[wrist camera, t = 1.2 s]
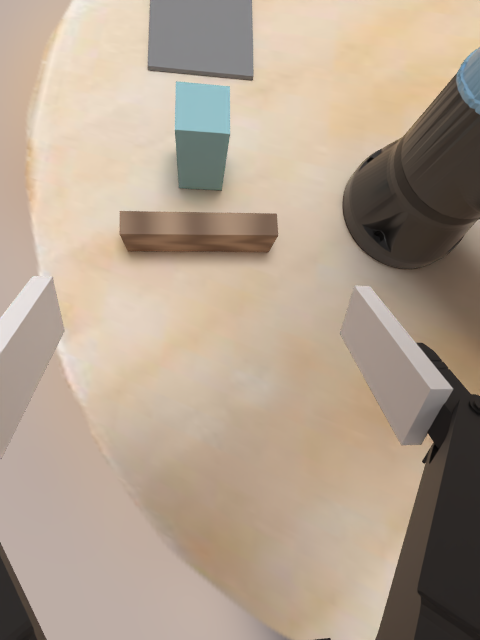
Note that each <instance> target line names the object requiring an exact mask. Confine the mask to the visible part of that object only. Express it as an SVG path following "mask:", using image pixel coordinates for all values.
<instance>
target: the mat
mask: <svg viewBox="0 0 480 640" xmlns="http://www.w3.org/2000/svg"><path fill="white" fill-rule="evenodd" d="M148 70H153V71H164V72H174V73H184V74H194V75H205V76H215V77H225V78H235V79H246V80H253V30H252V0H150V22H149V47H148Z"/></svg>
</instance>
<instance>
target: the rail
mask: <svg viewBox="0 0 480 640" xmlns="http://www.w3.org/2000/svg"><path fill="white" fill-rule="evenodd" d="M120 236H121V238H122V240H123V242H124V244H125V246H126V248H127V250H128V251H222V252H269V250H270V249H271V247H272V245H273V243H274V242H275V240H276V238H277V236H278V225H277V214H260V213H200V212H139V211H120Z"/></svg>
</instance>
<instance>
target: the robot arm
mask: <svg viewBox="0 0 480 640" xmlns="http://www.w3.org/2000/svg"><path fill="white" fill-rule="evenodd" d="M343 210H344V217H345V221H346V224H347V226H348V229H349V231H350V233H351V235H352V236H353V238H354V239H355V241H356V242H357V243H358V245H359V246H360V247H361V248H362V249H363V250H364V251H365V252H366V253H368V254H369V255H370V256H371V257H373V258H374V259H376V260H378V261H380V262H382V263H384V264H386V265H389V266H392V267H396V268H404V269H412V268H419V267H423V266H426V265H428V264H431V263H433V262H435V261H437V260H438V259H440V258H442V257H444V256H446V255H447V254H448V253H450V252H451V251H452V250H453V249H454V248H455V247H456V246H457V245H458V244H459V242H460V241H461V240H462V238H463V236H464V234H465V233H466V232H467V231H468V230H469V229H470V228H471V227H472V225H473V224H474V223H475V222H476V221H477V220H478V219H480V47H479V48H478V49H476V50H475V51H473V52H472V53H471V54H470V55H469V56H468V57H467V58H466V59H465V60H464V62H463V63H462V64H461V67H460V69H459V70H458V72H457V74H456V75H455V76H454V77H453V78H452V80H451V81H450V82H449V83H448V84H447V86H446V87H445V88H444V89H443V90H442V91H441V93H440V94H439V95H438V96H437V97H436V99H435V100H434V101H433V102H432V103H431V105H430V106H429V107H428V108H427V109H426V110H425V112H424V113H423V114H422V115H421V116H420V118H419V119H418V120H417V121H416V122H415V123H414V124H413V126H412V127H411V128H410V129H409V131H408V132H407V133H406V134H405V135H404V136H403V137H402V138H400V139H398V140H396V141H395V142H393V143H391V144H389V145H387V146H386V147H384V148H383V149H380V150H378V151H377V152H375V153H373V154H372V155H370V156H369V157H368V158H367V159H365V160H364V161H363V162H362V163H361V165H360V166H359V167H358V168H357V170H356V171H355V172H354V174H353V175H352V176H351V178H350V180H349V181H348V183H347V186H346V189H345V192H344V198H343ZM64 331H65V330H64V326H63V321H62V317H61V313H60V308H59V304H58V299H57V295H56V290H55V286H54V281H53V277H43V276H33V277H32V278H31V279H30V280H29V282H28V283H27V284H26V286H25V287H24V288H23V290H22V291H21V292H20V293H19V294H18V296H17V297H16V298H15V300H14V301H13V302H12V303H11V305H10V306H9V307H8V309H7V310H6V311H5V313H4V314H3V315H2V316H1V318H0V459H2V457H3V455H4V453H5V451H6V449H7V446H8V445H9V443H10V441H11V439H12V436H13V434H14V432H15V430H16V428H17V426H18V424H19V422H20V420H21V418H22V416H23V414H24V412H25V410H26V408H27V406H28V404H29V402H30V400H31V398H32V396H33V394H34V392H35V390H36V388H37V386H38V384H39V382H40V380H41V378H42V376H43V374H44V372H45V370H46V368H47V365H48V363H49V361H50V359H51V357H52V355H53V353H54V351H55V349H56V347H57V345H58V343H59V341H60V339H61V337H62V335H63V333H64ZM340 335H341V337H342V339H343V340H344V342H345V344H346V346H347V348H348V349H349V351H350V353H351V355H352V357H353V359H354V360H355V362H356V364H357V366H358V368H359V369H360V371H361V373H362V375H363V377H364V378H365V380H366V382H367V384H368V386H369V388H370V389H371V391H372V393H373V395H374V397H375V398H376V400H377V402H378V404H379V406H380V408H381V409H382V411H383V413H384V415H385V417H386V418H387V420H388V422H389V424H390V426H391V428H392V429H393V431H394V433H395V435H396V437H397V438H398V440H399V442H400V444H401V445H421V444H422V442H423V441H424V439H425V437H426V435H427V434H429V436H430V437H431V439H432V440H433V442H434V443H433V444H432V446H431V448H430V449H429V451H428V453H427V454H426V456H425V458H424V459H423V461H422V462H423V463H426V464H425V468H424V471H423V475H422V478H421V482H420V485H419V489H418V493H417V496H416V500H415V503H414V507H413V510H412V514H411V517H410V521H409V525H408V528H407V532H406V535H405V539H404V542H403V546H402V550H401V553H400V557H399V560H398V564H397V567H396V571H395V574H394V578H393V582H392V585H391V589H390V592H389V596H388V599H387V603H386V606H385V610H384V614H383V617H382V621H381V624H380V628H379V631H378V634H377V637H376V639H375V640H480V396H478V395H474V394H470V393H469V392H468V391H467V389H466V388H465V387H464V386H463V385H462V383H461V382H460V381H459V380H458V379H457V378H456V376H455V375H454V374H453V373H452V372H451V371H450V369H448V367H447V366H446V365H445V363H444V362H442V360H441V359H440V358H439V356H438V355H437V354H436V353H435V352H434V351H433V350H432V349H430V348H429V347H427V346H426V345H425V344H423V343H416V342H415V341H414V340H413V339H412V337H411V336H410V335H409V334H408V332H407V331H406V330H405V329H404V328H403V326H402V325H401V324H400V323H399V321H398V320H397V319H396V318H395V316H394V315H393V314H392V313H391V311H390V310H389V309H388V308H387V307H386V305H385V304H384V303H383V302H382V300H381V299H380V298H379V297H378V295H377V294H376V293H375V292H374V290H373V289H372V288H371V287H370V286H354V288H353V291H352V295H351V298H350V301H349V305H348V308H347V311H346V315H345V318H344V321H343V325H342V328H341V331H340ZM0 640H47V639H46V638H45V636H44V633H43V631H42V629H41V627H40V625H39V623H38V621H37V619H36V617H35V614H34V612H33V610H32V608H31V606H30V604H29V602H28V600H27V597H26V595H25V593H24V591H23V589H22V587H21V585H20V583H19V581H18V579H17V576H16V574H15V572H14V571H13V568H12V566H11V564H10V562H9V560H8V558H7V556H6V553H5V551H4V550H3V547H2V545H1V543H0ZM317 640H331V639H330V638H326V639H317Z"/></svg>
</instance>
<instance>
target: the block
mask: <svg viewBox="0 0 480 640" xmlns="http://www.w3.org/2000/svg"><path fill="white" fill-rule="evenodd" d="M229 137H230V87H229V86H219V85H208V84H198V83H187V82H176V105H175V138H176V153H177V167H178V182H179V188H186V189H203V190H221V191H222V184H223V177H224V171H225V164H226V157H227V151H228V144H229Z"/></svg>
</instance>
